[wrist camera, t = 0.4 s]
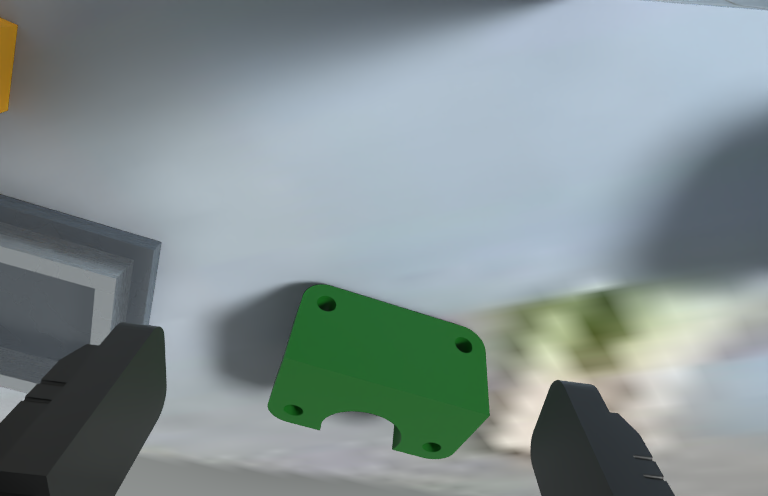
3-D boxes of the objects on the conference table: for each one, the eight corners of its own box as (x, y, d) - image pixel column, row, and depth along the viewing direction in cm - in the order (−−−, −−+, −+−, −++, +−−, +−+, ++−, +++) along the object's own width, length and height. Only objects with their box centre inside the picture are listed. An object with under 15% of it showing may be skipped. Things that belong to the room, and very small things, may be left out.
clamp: (325, 307, 36) (239, 397, 29) (349, 249, 32) (256, 337, 25) (470, 407, 34) (413, 528, 27) (513, 358, 30) (460, 485, 23)
